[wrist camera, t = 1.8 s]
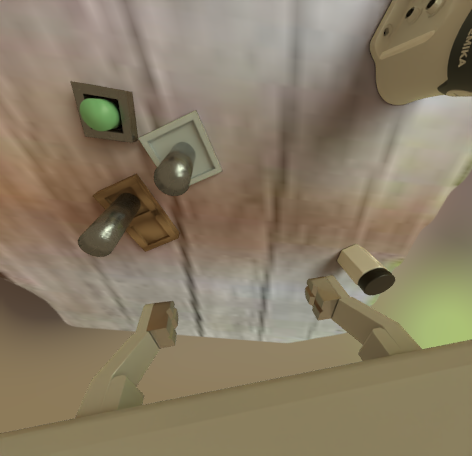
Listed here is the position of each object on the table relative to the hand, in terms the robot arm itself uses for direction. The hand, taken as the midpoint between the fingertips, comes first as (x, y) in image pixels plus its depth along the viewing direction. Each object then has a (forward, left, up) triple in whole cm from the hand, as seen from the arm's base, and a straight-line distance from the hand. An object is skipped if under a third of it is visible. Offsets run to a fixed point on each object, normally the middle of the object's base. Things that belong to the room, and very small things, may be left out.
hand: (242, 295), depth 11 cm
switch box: (-6, -18, -32) cm, 37 cm away
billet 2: (-1, -7, -31) cm, 32 cm away
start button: (-6, -18, -30) cm, 35 cm away
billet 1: (+10, -17, -30) cm, 36 cm away
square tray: (-1, -7, -32) cm, 32 cm away
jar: (+23, +44, -32) cm, 59 cm away
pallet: (+13, -16, -32) cm, 38 cm away
